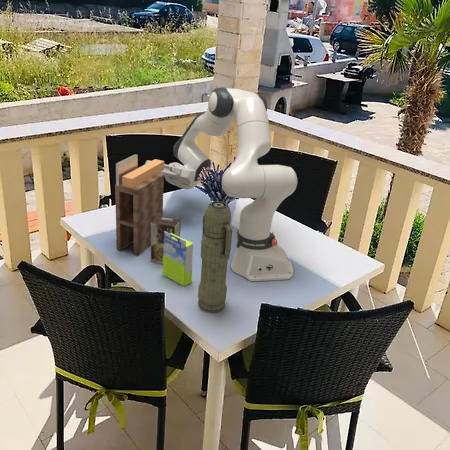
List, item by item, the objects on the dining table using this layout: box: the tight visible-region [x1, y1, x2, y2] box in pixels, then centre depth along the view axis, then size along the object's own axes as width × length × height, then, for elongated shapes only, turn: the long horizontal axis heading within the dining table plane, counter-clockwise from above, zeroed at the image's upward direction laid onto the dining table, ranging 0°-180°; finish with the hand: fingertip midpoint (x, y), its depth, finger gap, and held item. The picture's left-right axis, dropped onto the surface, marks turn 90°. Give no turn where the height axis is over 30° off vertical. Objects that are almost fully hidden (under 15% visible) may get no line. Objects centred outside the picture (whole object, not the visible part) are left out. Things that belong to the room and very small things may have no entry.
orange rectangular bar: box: [122, 158, 165, 188], centre depth 188 cm, size 22×4×4 cm, turn 156°
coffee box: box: [150, 215, 181, 265], centre depth 185 cm, size 9×6×16 cm
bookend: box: [115, 153, 139, 186], centre depth 184 cm, size 12×1×8 cm, turn 156°
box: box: [162, 231, 194, 287], centre depth 174 cm, size 10×4×17 cm, turn 51°
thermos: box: [197, 200, 233, 313], centre depth 158 cm, size 9×12×35 cm
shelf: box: [114, 174, 165, 257], centre depth 192 cm, size 18×9×26 cm, turn 156°
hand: (161, 166), depth 199 cm, fingers open, 8 cm apart
